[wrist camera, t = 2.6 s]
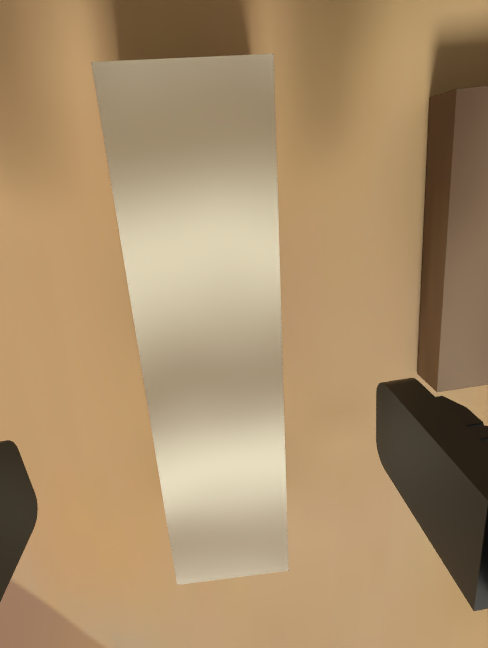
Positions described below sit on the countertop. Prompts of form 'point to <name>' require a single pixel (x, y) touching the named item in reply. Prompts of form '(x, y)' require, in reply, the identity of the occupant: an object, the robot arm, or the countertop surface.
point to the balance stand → (455, 243)
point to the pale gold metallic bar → (205, 297)
